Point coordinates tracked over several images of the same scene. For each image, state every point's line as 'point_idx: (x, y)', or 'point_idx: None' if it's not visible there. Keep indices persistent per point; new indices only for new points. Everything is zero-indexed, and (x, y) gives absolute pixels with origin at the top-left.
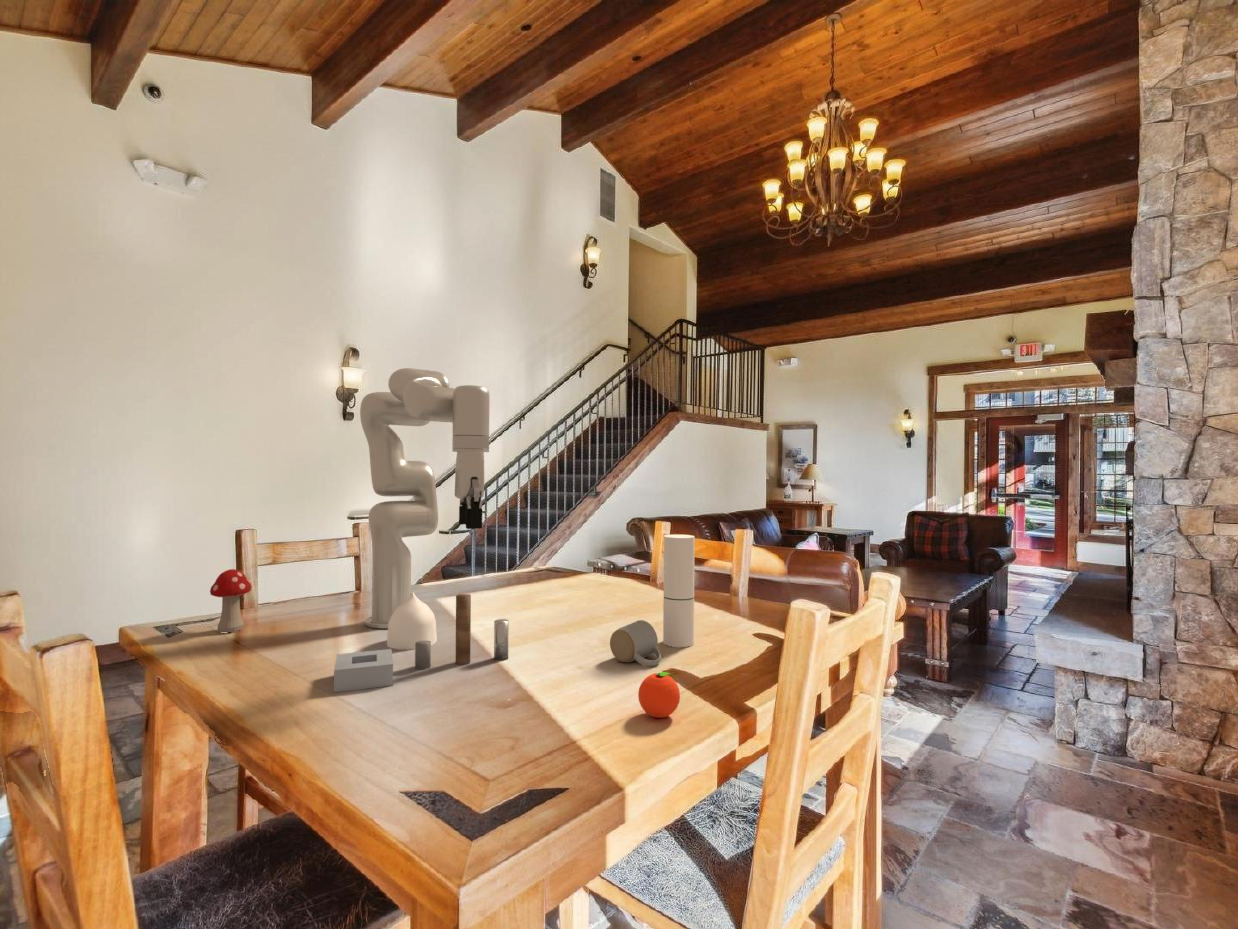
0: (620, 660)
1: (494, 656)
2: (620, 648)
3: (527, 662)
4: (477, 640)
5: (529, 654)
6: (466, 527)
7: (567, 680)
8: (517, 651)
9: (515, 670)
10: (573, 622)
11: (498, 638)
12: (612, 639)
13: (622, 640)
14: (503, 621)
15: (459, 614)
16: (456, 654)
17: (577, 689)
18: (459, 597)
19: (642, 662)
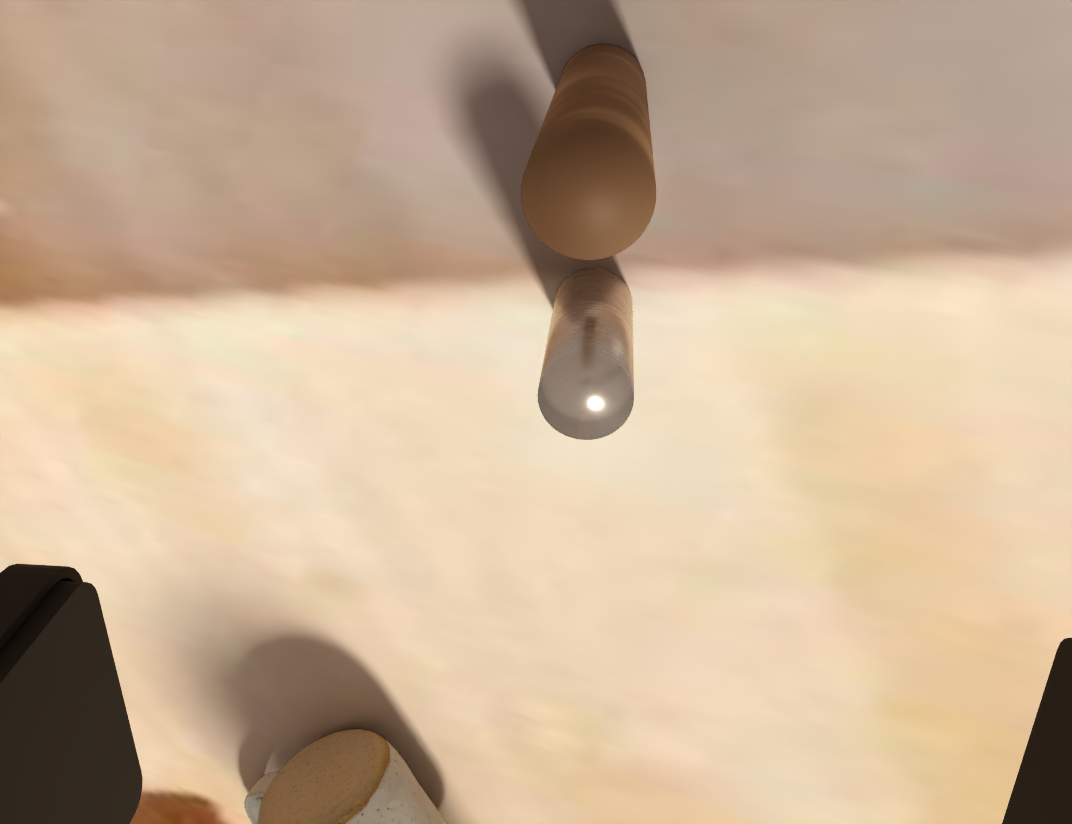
0: (335, 732)
1: (587, 274)
2: (321, 772)
3: (479, 407)
4: (1021, 255)
5: (603, 449)
6: (2, 573)
7: (181, 487)
8: (681, 410)
9: (375, 325)
10: None
11: (553, 330)
12: (352, 783)
13: (297, 805)
14: (567, 406)
15: (548, 119)
16: (586, 54)
17: (69, 487)
18: (537, 149)
19: (260, 780)
